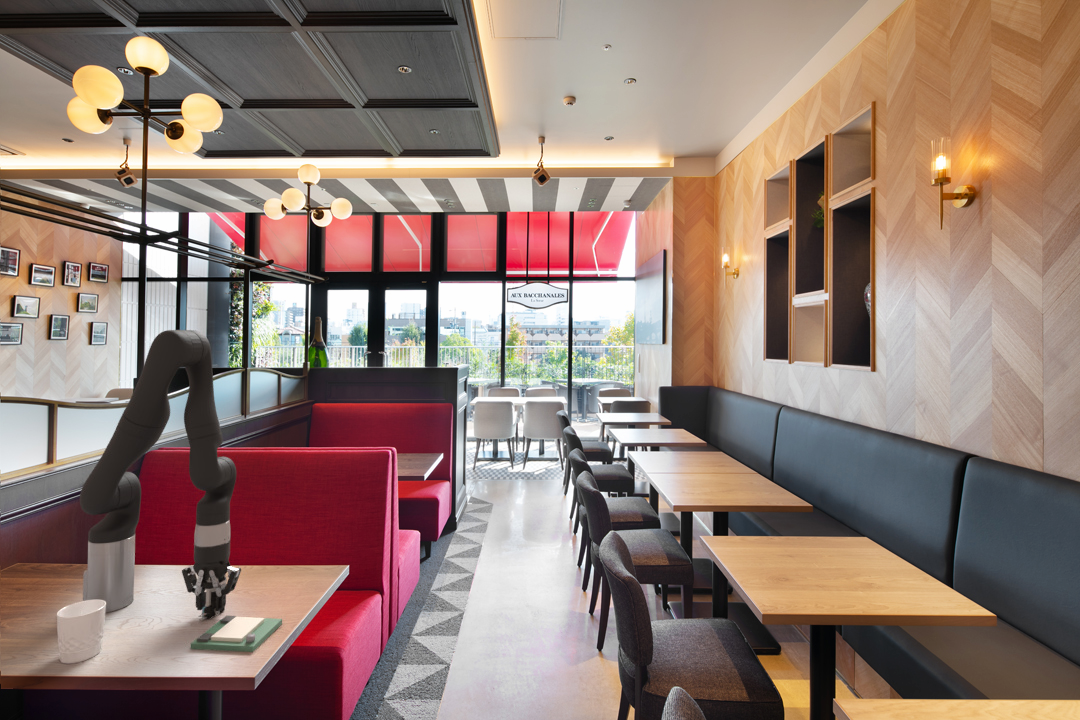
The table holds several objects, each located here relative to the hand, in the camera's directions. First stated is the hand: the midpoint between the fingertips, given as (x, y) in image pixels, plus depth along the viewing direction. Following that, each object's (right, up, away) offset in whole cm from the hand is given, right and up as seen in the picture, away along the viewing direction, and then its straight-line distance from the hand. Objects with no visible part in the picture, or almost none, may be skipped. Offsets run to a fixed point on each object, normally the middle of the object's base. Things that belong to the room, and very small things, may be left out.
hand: (210, 608), depth 128 cm
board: (+12, -2, -8) cm, 15 cm away
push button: (0, -2, 0) cm, 2 cm away
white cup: (-17, -2, -17) cm, 24 cm away
